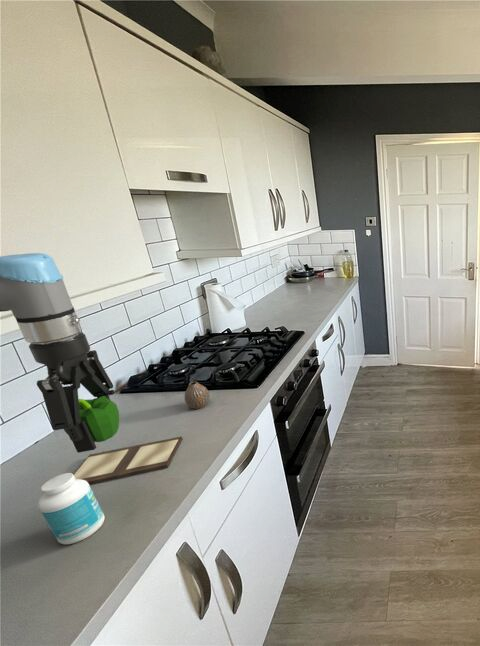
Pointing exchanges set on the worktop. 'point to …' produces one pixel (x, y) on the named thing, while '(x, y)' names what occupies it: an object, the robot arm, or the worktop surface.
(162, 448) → the board
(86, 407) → the bell pepper
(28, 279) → the robot arm
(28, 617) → the worktop surface
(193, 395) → the brown rounded bulb
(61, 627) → the worktop surface
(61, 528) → the pill bottle
